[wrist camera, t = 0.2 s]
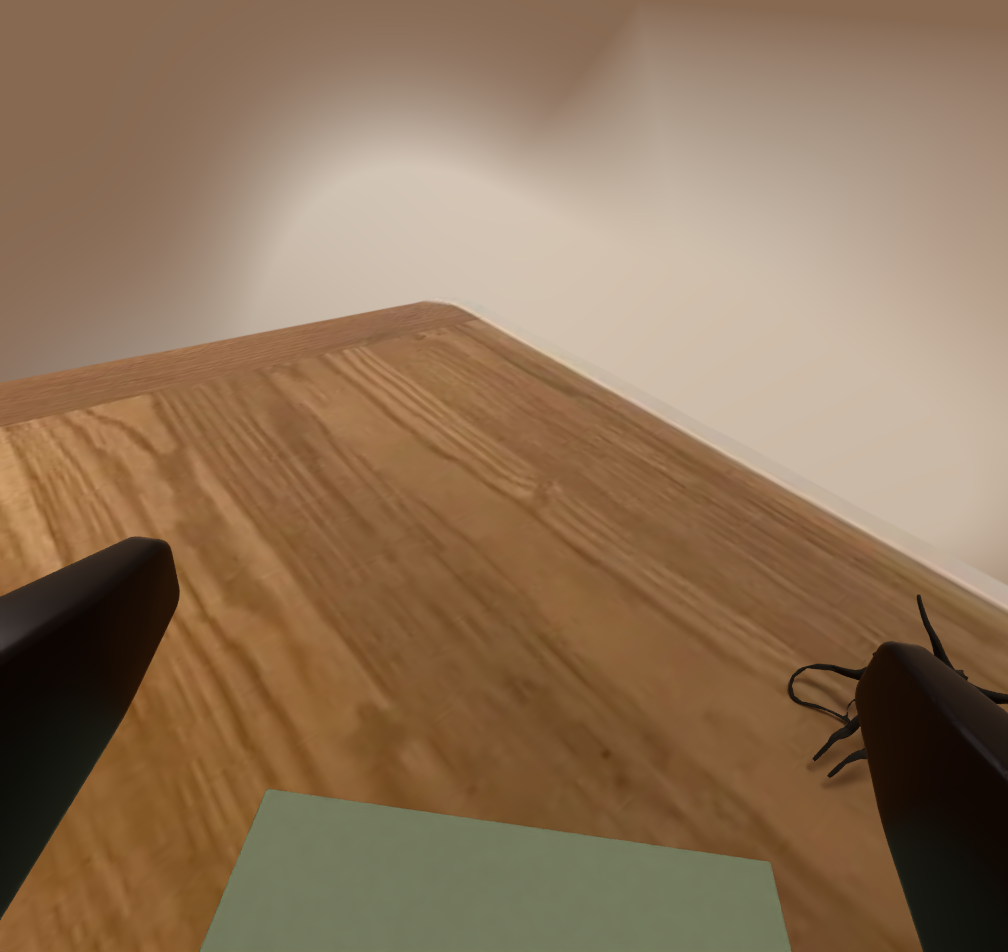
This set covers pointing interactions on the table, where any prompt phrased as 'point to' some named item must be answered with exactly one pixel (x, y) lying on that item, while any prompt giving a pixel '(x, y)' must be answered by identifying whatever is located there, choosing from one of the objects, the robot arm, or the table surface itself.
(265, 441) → the table surface
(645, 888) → the lid
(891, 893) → the table surface
